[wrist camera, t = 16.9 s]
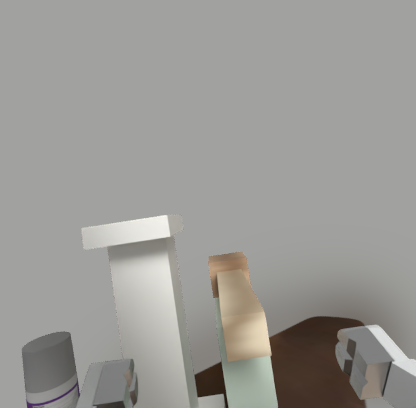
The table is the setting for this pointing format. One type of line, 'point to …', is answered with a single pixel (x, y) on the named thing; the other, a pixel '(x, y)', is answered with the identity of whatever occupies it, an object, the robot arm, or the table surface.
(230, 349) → the tan long block
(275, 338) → the table surface
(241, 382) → the pale green rectangular block
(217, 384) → the table surface
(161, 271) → the white i-beam pillar
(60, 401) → the container
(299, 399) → the table surface
